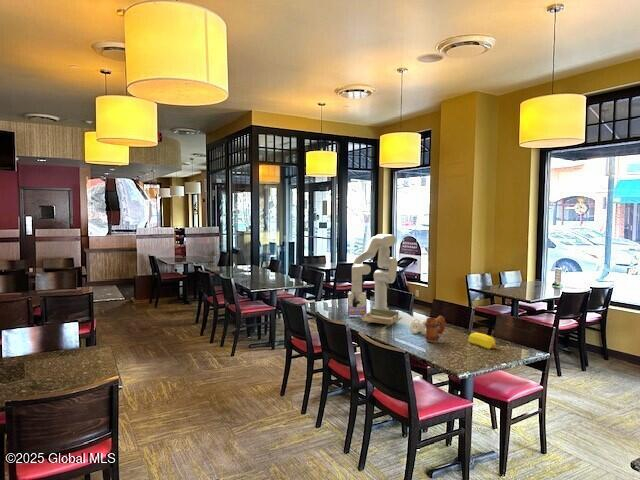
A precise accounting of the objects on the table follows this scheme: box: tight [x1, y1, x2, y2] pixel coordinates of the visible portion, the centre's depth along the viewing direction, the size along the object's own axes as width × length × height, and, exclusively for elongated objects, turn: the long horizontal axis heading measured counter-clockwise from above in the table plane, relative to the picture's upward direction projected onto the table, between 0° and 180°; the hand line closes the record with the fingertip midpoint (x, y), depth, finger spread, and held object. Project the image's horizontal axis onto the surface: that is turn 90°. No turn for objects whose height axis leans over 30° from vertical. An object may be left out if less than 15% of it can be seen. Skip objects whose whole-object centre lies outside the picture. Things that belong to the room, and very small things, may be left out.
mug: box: [424, 315, 446, 344], centre depth 265 cm, size 15×8×15 cm, turn 117°
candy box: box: [347, 291, 368, 317], centre depth 325 cm, size 14×6×16 cm, turn 84°
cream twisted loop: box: [408, 318, 427, 335], centre depth 283 cm, size 11×12×9 cm
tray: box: [361, 307, 399, 326], centre depth 307 cm, size 17×20×7 cm
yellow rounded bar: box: [468, 332, 496, 350], centre depth 258 cm, size 18×7×8 cm
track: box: [363, 316, 403, 330], centre depth 312 cm, size 34×16×1 cm, turn 151°
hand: (357, 305), depth 325 cm, fingers closed on candy box, 7 cm apart
